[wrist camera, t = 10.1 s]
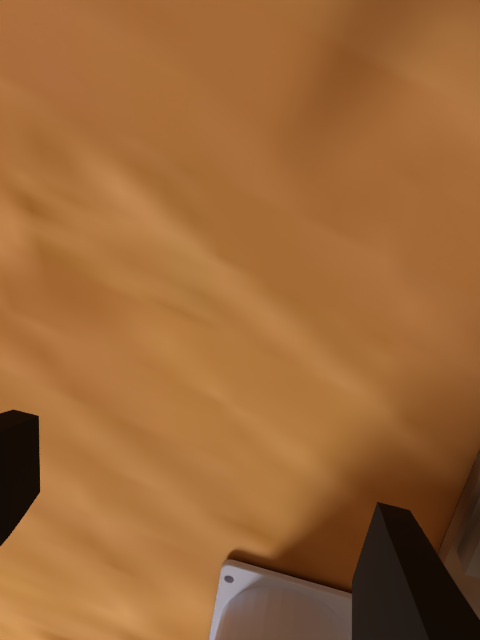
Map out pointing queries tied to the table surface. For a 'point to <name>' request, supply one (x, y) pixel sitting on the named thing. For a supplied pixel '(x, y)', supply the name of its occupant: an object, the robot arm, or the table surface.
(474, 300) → the table surface
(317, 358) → the table surface
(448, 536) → the picture frame
